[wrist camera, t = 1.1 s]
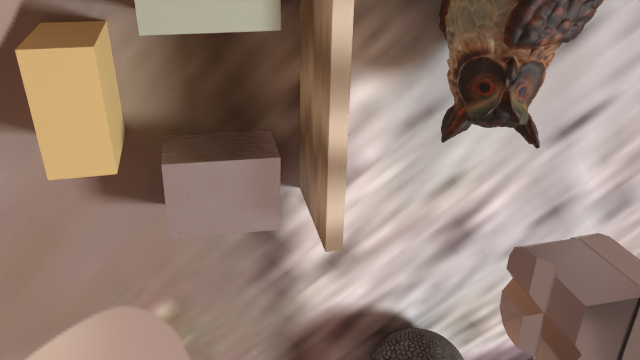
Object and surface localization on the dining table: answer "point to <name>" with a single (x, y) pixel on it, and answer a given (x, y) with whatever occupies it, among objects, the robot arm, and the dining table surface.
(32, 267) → the dining table surface
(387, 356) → the decorative ball
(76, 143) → the book
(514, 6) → the brown owl figurine
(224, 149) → the block
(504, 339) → the dining table surface
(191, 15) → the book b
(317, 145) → the shelf corner
